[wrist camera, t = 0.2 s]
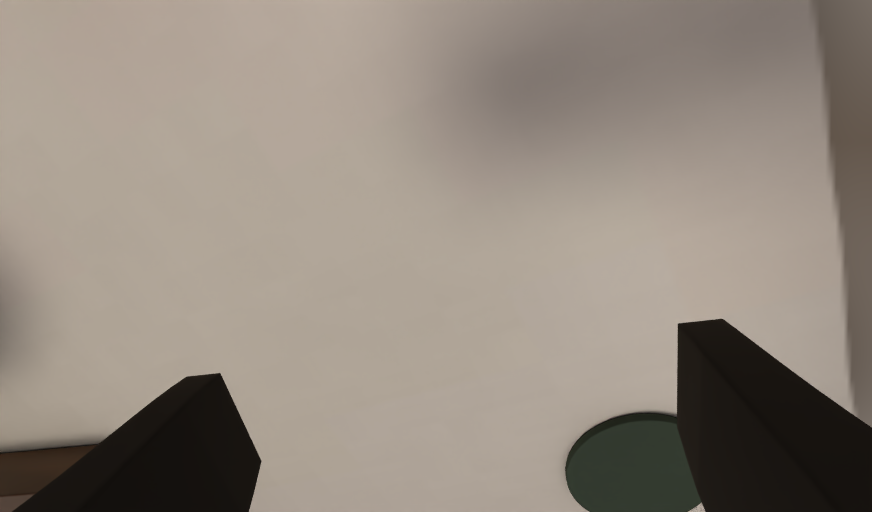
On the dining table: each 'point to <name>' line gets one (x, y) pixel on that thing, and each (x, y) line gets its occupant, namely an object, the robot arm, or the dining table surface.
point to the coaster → (632, 467)
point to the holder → (33, 472)
